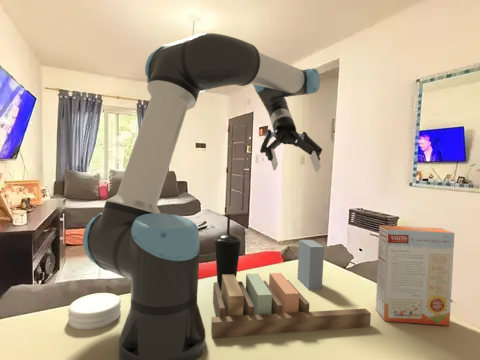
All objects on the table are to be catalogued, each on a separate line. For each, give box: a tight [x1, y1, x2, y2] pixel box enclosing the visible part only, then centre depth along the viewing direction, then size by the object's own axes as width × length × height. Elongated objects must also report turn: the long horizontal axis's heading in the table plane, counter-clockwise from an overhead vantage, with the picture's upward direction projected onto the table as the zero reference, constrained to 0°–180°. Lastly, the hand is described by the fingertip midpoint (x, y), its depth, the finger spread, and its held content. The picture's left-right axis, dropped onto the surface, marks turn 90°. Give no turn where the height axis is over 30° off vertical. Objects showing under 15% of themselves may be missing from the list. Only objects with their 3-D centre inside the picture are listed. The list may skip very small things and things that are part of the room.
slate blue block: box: [297, 239, 325, 291], centre depth 85 cm, size 4×8×12 cm, turn 11°
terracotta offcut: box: [268, 272, 299, 313], centre depth 67 cm, size 3×12×7 cm, turn 11°
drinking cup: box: [213, 214, 243, 291], centre depth 80 cm, size 8×8×20 cm
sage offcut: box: [245, 273, 272, 315], centre depth 66 cm, size 3×12×7 cm, turn 11°
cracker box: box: [375, 224, 455, 327], centre depth 67 cm, size 14×6×21 cm, turn 84°
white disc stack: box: [67, 292, 122, 331], centre depth 62 cm, size 10×10×4 cm
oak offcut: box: [220, 274, 244, 316], centre depth 65 cm, size 3×12×7 cm, turn 11°
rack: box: [210, 279, 372, 339], centre depth 66 cm, size 34×14×5 cm, turn 101°
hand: (297, 168), depth 87 cm, fingers open, 13 cm apart
